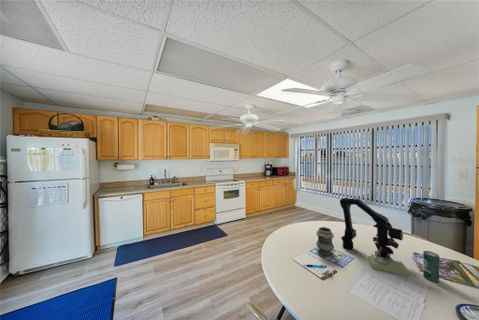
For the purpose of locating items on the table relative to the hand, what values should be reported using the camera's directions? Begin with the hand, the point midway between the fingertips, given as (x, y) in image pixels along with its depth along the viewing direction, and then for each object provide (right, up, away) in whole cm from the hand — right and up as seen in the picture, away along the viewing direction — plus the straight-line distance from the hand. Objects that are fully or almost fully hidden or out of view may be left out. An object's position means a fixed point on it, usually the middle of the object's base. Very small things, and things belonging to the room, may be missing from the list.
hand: (382, 257), depth 118 cm
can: (+14, -3, -18) cm, 23 cm away
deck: (-2, -3, -5) cm, 6 cm away
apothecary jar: (-34, -3, +11) cm, 36 cm away
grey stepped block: (0, -1, 0) cm, 1 cm away
